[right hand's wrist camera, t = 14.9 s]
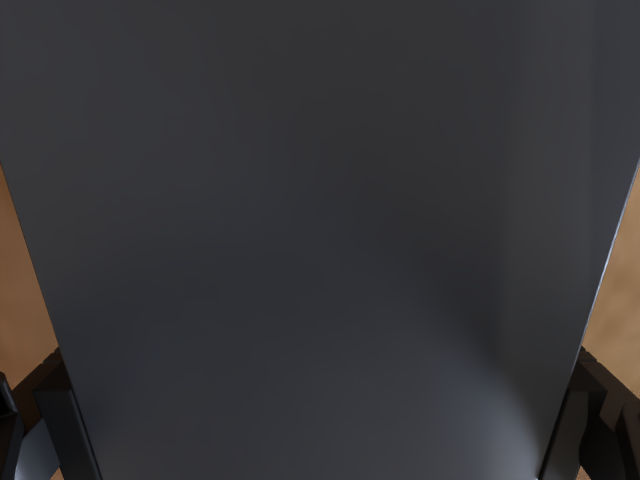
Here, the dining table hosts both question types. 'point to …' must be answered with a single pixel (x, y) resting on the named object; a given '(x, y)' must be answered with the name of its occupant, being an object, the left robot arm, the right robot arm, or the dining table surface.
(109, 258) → the slab
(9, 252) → the dining table surface
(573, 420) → the right robot arm
